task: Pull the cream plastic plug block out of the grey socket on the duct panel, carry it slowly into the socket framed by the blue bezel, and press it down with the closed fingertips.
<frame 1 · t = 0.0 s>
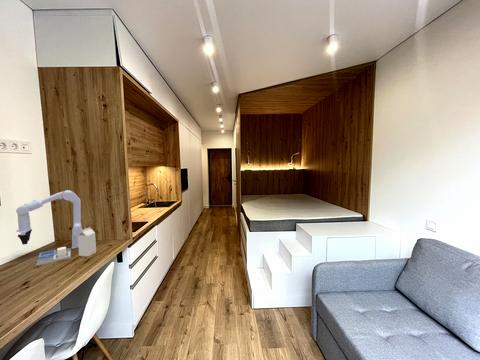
hand: (26, 242, 144), 10 cm above the table, fingers open, 7 cm apart
duct panel: (55, 256, 145), on the table
blue bezel: (47, 255, 146), resting on duct panel
plug: (62, 256, 143), point 1 cm above the table, touching duct panel
milk carton: (88, 254, 148), on the table
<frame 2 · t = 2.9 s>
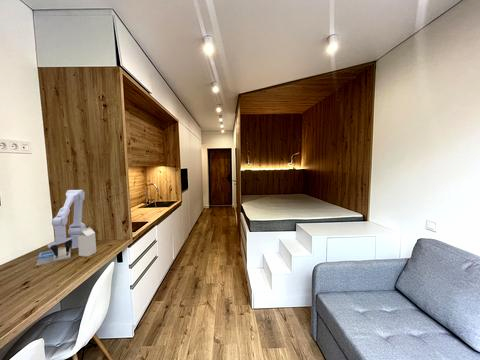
hand: (62, 253, 143), 3 cm above the table, fingers closed on plug, 6 cm apart
plug: (62, 256, 143), point 1 cm above the table, touching duct panel, gripper
everything else where it was.
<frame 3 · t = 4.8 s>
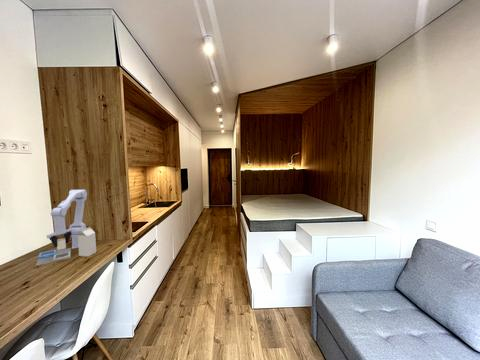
hand: (61, 244, 142), 9 cm above the table, fingers closed on plug, 6 cm apart
plug: (61, 248, 142), point 7 cm above the table, touching gripper
everything else where it was.
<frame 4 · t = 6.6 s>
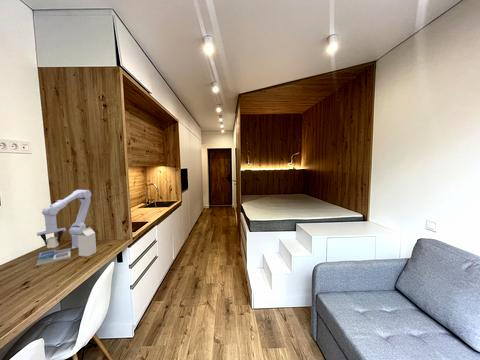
hand: (52, 243, 144), 9 cm above the table, fingers closed on plug, 6 cm apart
plug: (52, 246, 144), point 7 cm above the table, touching gripper
everything else where it was.
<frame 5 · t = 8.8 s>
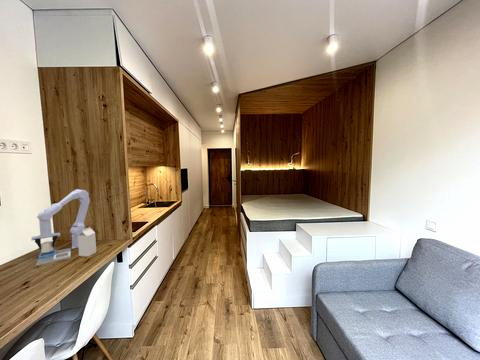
hand: (47, 248, 145), 6 cm above the table, fingers closed on plug, 6 cm apart
plug: (47, 251, 146), point 3 cm above the table, touching gripper
everything else where it was.
when the fingers open (4 cm above the table, at t = 10.6 s): plug stays where it is, resting on duct panel.
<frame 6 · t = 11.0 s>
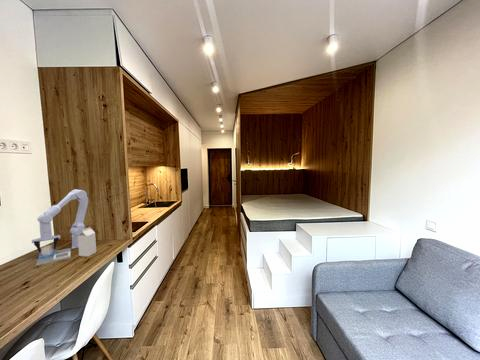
hand: (47, 250, 146), 4 cm above the table, fingers open, 7 cm apart
plug: (47, 254, 146), point 1 cm above the table, touching duct panel
everything else where it was.
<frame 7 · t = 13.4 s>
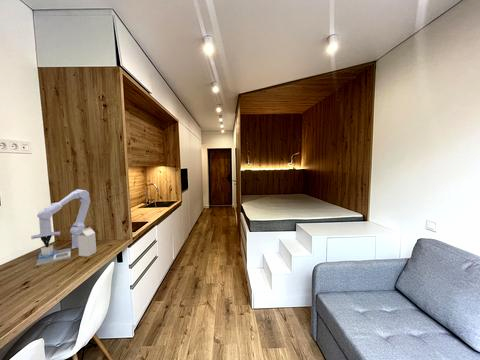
hand: (47, 246, 145), 6 cm above the table, fingers closed, pressing on plug
plug: (47, 254, 146), point 1 cm above the table, touching duct panel, gripper
everything else where it was.
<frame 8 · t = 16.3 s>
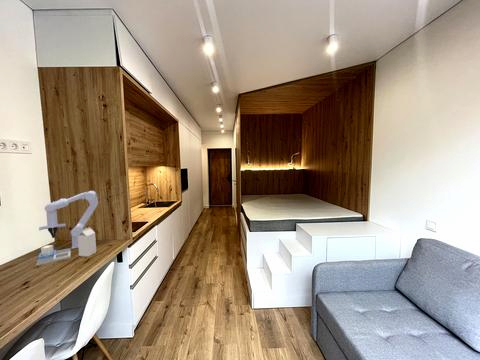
hand: (53, 237, 155), 9 cm above the table, fingers closed
plug: (47, 254, 146), point 1 cm above the table, touching duct panel
everything else where it was.
at the end: plug 0.0 cm off-centre on the blue bezel, point 0.6 cm above the blue bezel's base; plug tilted 0°; the gripper is holding nothing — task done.
